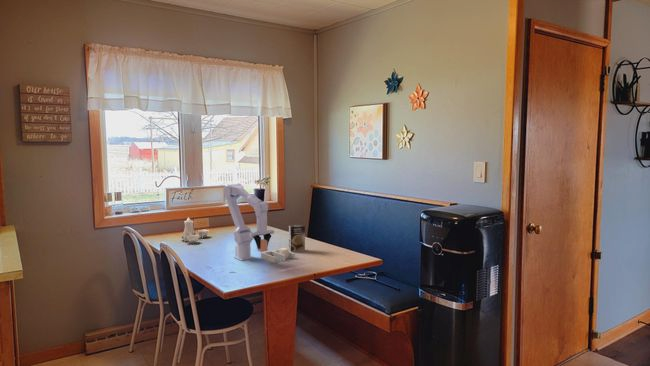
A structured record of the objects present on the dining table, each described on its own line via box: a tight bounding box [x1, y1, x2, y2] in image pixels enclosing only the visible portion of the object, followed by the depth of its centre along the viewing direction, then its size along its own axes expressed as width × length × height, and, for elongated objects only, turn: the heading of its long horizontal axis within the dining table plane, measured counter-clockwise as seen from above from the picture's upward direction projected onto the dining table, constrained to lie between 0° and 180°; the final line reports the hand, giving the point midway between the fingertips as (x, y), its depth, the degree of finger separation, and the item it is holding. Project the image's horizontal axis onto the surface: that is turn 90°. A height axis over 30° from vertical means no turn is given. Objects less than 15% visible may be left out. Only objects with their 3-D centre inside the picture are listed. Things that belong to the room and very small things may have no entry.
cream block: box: [278, 247, 289, 258], centre depth 252 cm, size 4×4×5 cm
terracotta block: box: [257, 238, 269, 253], centre depth 243 cm, size 4×4×6 cm
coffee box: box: [288, 224, 306, 253], centre depth 268 cm, size 9×6×16 cm
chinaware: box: [181, 217, 210, 244], centre depth 302 cm, size 28×17×17 cm, turn 179°
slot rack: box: [260, 248, 297, 264], centre depth 250 cm, size 16×15×4 cm
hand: (262, 247), depth 243 cm, fingers closed on terracotta block, 4 cm apart
